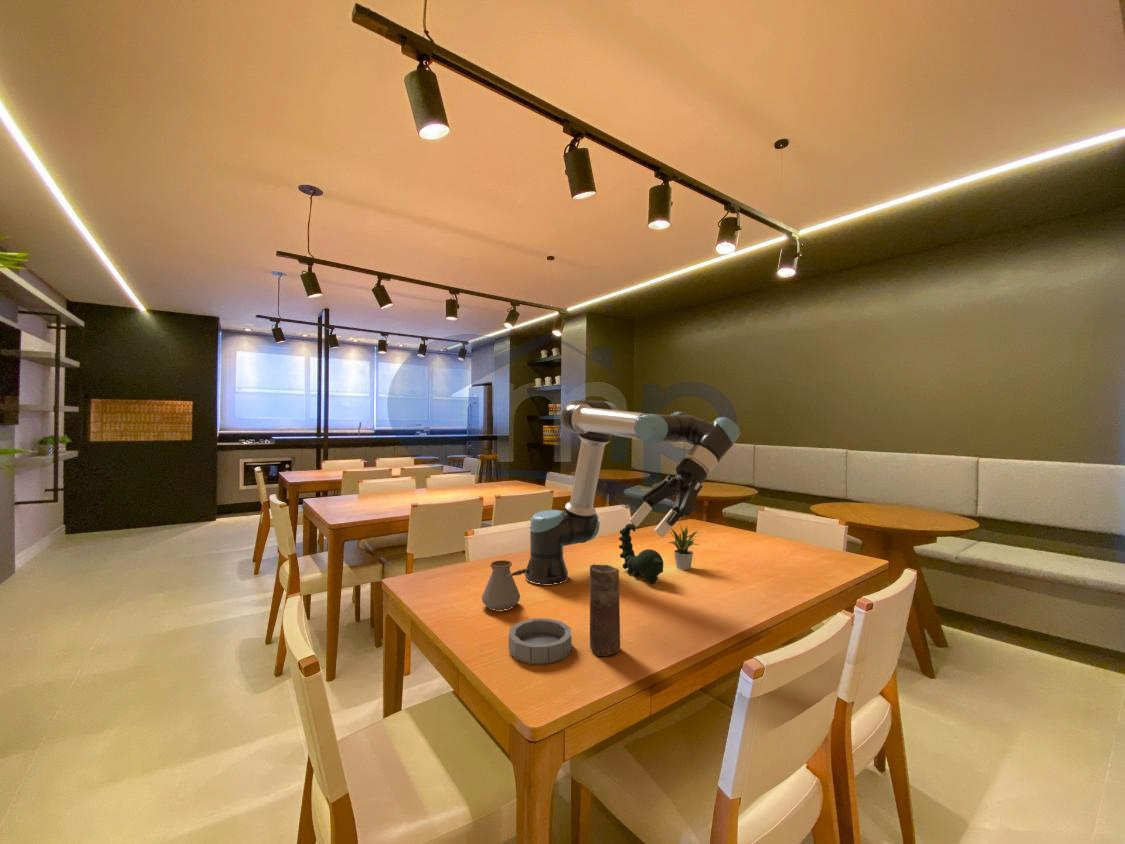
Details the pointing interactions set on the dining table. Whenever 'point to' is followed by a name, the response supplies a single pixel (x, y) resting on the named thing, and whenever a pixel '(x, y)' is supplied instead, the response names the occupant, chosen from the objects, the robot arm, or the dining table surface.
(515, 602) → the coffee pot
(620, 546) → the toy figurine
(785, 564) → the dining table surface
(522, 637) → the candle dish
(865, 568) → the dining table surface
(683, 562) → the house plant
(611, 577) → the candle
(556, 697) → the dining table surface
